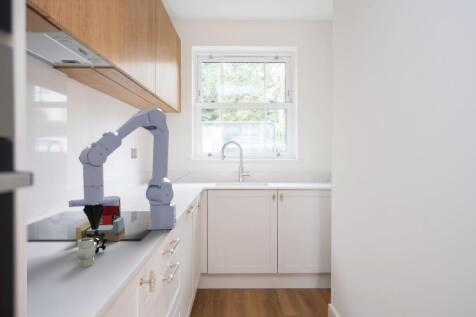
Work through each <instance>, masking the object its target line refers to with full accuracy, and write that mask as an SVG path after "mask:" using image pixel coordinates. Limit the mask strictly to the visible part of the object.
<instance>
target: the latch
mask: <svg viewBox="0 0 476 317" xmlns="http://www.w3.org/2000/svg"><path fill="white" fill-rule="evenodd" d="M90 228H91V225H90V222H89V220H87V221H85V222H83V223H82V224H79V226H76V227H75V241H77V242H78V241H79V240H80V239H83V238H86V231H87V230H88V229H90Z"/></svg>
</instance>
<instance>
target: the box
mask: <svg viewBox="0 0 476 317" xmlns="http://www.w3.org/2000/svg"><path fill="white" fill-rule="evenodd" d="M99 234H102V233H99ZM92 235H93V234H92ZM124 235H126V227H125V228H123V229H122V230H121V231H120V232H119V233H106V235H105V236H104V238H105V239H109V242H120V241H121V240H122V239H123V238H124V237H125V236H124ZM123 236H124V237H123ZM122 237H123V238H122ZM86 238H89V237H87V234H86ZM92 238H93V239H96V238H97V239H100V238H101V237H99V236H94V237H92ZM109 242H108V243H109ZM100 243H103V240H101V241H100Z"/></svg>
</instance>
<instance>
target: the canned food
mask: <svg viewBox="0 0 476 317" xmlns="http://www.w3.org/2000/svg"><path fill="white" fill-rule="evenodd" d="M104 198H107V199H119V205H118V206H114V205H112V206H105V209H104V211H103V213H102V216H101V218H100V222H99V225H113V221H115V220H116V219H118V218H122V212H121V209H122V208H121V196H117V195H111V196H110V195H107V196H104ZM99 204H100V203H99Z"/></svg>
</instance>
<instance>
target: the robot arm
mask: <svg viewBox="0 0 476 317" xmlns="http://www.w3.org/2000/svg"><path fill="white" fill-rule="evenodd" d="M167 124H168V123H167V115H166V114H165V112H164V111H163V110H162V109H161V108H159V107H154V108H149V109H145V110H144V109H142V110H139V111H137V112H136V113H135V114H133V115H132V116H131V117H130V118H129V119H128V120H126V122H125V123H123V124H122V125H121V126H120V127H118V128H117V130H115V131H114V132H113V131H109V132H104V133H102V134H101V137H100V138H99V139H98V140H97V141H96V142H92V143H90V147H86V148H84V149H82V150H81V152H80V155H79V156H78V160H79V162H80V163H81V164H82V171H83V172H82V181H83V185H82V186H83V199H82V198H81V199H70V200H69V201H68V207H69V208H74V207H76V208H77V207H83V208H82V212H83V213H84V214H85V216H86V218H87V219H88V220H89V222H90V225H91V229H92V230H97V229H98V228H99V222H100V218H101V216H102V213H103V211H104V209H105V206H112V205H114V206H118V205H119V199H107V198H104V197H105V186H104V184H105V183H104V182H105V180H104V164H105V163H106V162H107V160H108V157H109V156H110V155H111V154H113V153H114V152H116V150H117V149H119V148H120V147H121V146H122V143H123V142H122V141H123V139H125V138H126V137H128V136H129V135H130V134H132V133H133V132H135V131H136V130H137V129H139V128H140V127H141V128H142V129H145V130H146V131H147V132H149V133H150V134H151V135H152V136H153V142H152V144H153V145H152V146H153V147H152V148H153V149H152V174H151V175H152V176H151V179H149V181H148V183H147V188H146V191H145V198H146V199H147V200H148V203H149V216H150V217H149V220H150V222H149V223H150V224H149V226H148V227H147V230H148V231H149V230H151V231H152V230H174V229H175V227H176V226H177V206H176V203H173V202H172V200H174V196H175V195H174V193H175V192H174V190H173V183H172V182H171V181H170V179H169V178H168V171H169V169H168V166H169V165H168V164H169V138H170V132H169V127H168V125H167ZM99 203H100V204H99ZM88 220H87V221H88Z"/></svg>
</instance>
